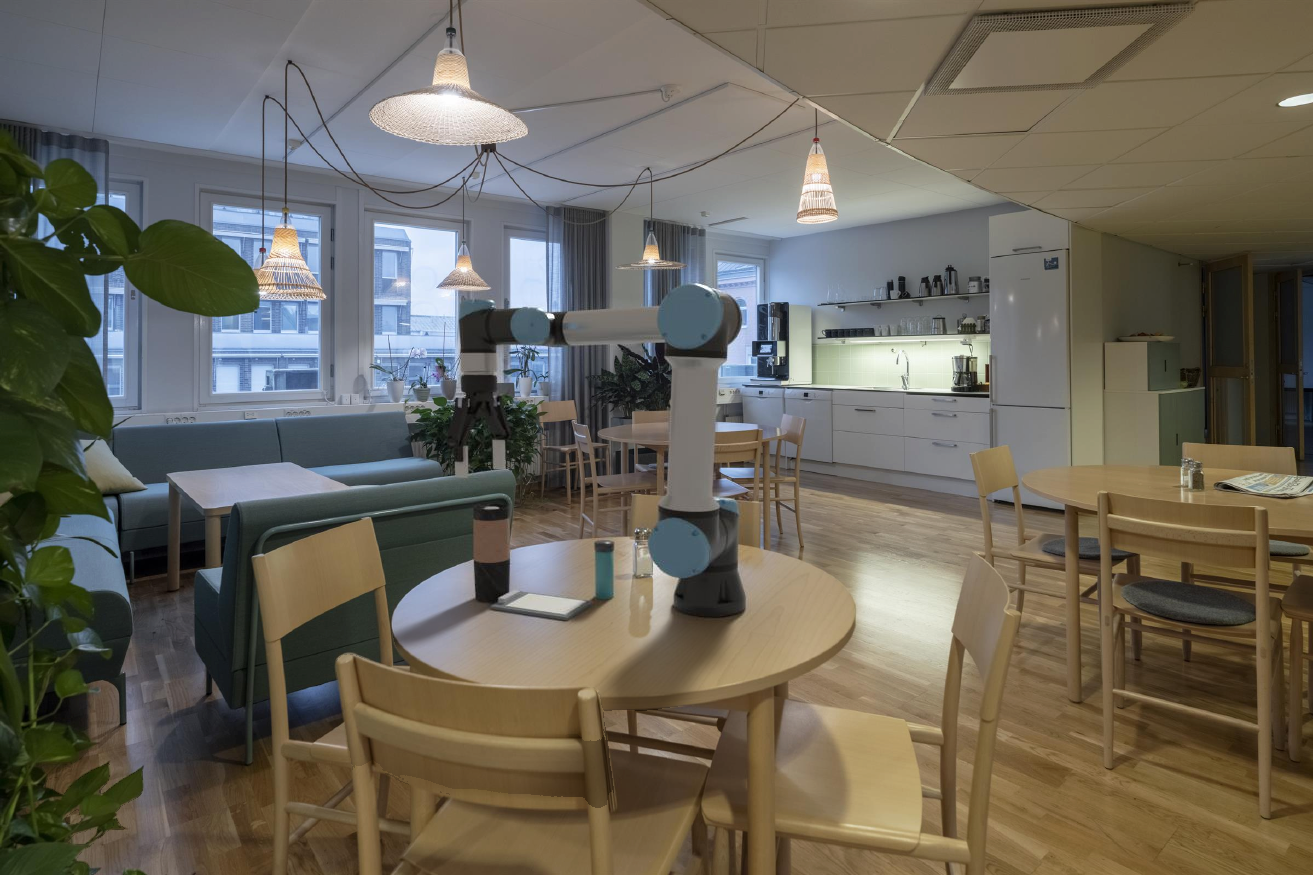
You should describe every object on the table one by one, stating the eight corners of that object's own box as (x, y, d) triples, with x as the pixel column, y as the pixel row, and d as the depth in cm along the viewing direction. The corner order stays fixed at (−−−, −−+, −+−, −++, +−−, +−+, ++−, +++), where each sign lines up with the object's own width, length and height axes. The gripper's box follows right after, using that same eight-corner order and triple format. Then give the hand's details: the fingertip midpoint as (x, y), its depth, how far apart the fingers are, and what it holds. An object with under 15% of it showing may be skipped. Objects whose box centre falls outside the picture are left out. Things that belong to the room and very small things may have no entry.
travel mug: (501, 604, 154) (500, 510, 152) (467, 601, 155) (466, 508, 154) (515, 593, 161) (515, 503, 160) (483, 591, 163) (482, 502, 161)
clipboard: (592, 603, 155) (592, 596, 154) (567, 620, 144) (567, 612, 144) (519, 593, 161) (519, 586, 161) (490, 608, 151) (490, 601, 151)
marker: (617, 594, 161) (617, 541, 160) (609, 600, 157) (608, 545, 156) (599, 592, 162) (599, 539, 161) (591, 598, 158) (590, 543, 157)
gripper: (497, 373, 168) (499, 465, 170) (425, 374, 145) (428, 480, 147) (525, 373, 165) (527, 466, 167) (457, 374, 142) (460, 482, 144)
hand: (481, 473), depth 157 cm, fingers open, 13 cm apart
